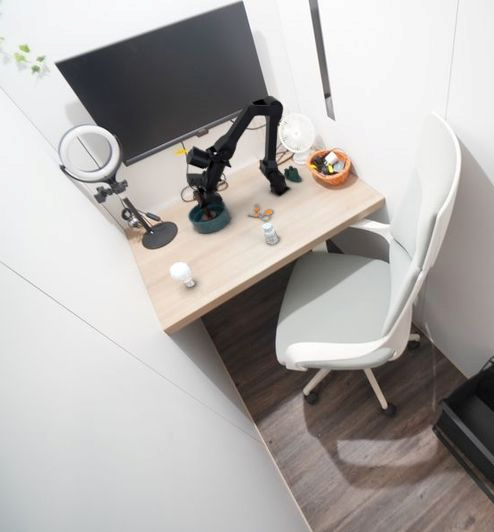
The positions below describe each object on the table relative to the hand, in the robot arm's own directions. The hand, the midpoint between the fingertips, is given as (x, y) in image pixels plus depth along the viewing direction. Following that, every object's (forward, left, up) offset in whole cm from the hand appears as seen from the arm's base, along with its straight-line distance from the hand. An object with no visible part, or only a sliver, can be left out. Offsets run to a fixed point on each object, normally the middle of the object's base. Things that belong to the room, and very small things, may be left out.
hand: (200, 207), depth 130 cm
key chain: (-16, +15, -8) cm, 24 cm away
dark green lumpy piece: (-42, +8, -8) cm, 44 cm away
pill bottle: (-8, +32, -8) cm, 34 cm away
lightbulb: (+24, +24, -8) cm, 35 cm away
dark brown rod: (-1, 0, -8) cm, 8 cm away
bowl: (-1, +1, -8) cm, 8 cm away
